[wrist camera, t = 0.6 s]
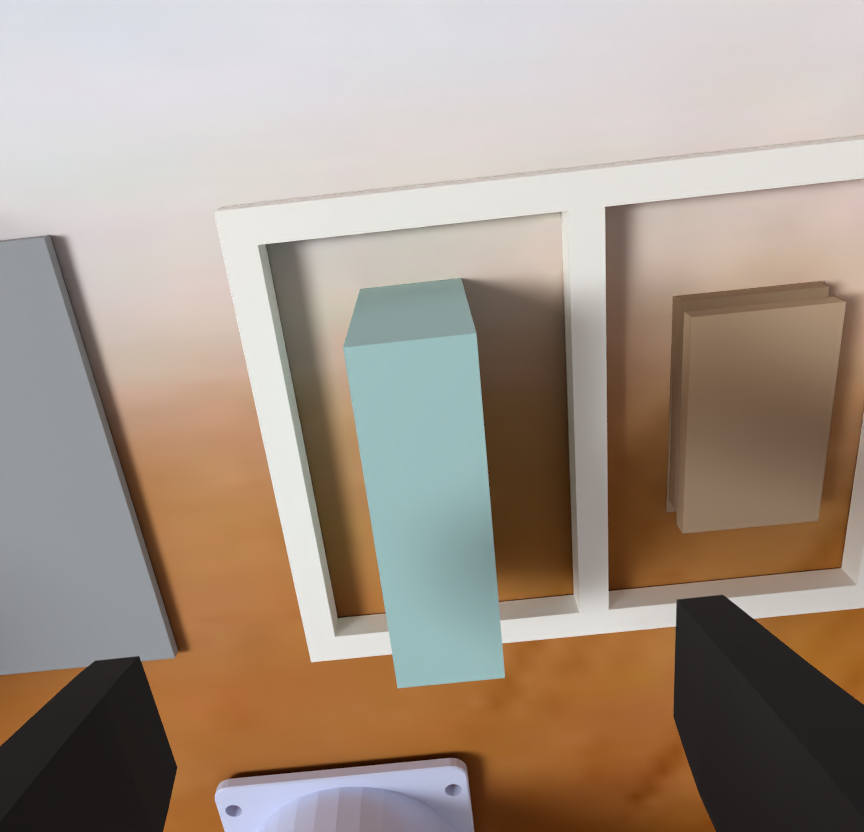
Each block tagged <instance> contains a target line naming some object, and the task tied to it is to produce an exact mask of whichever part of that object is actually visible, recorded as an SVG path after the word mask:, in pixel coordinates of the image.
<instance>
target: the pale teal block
mask: <svg viewBox="0 0 864 832" xmlns="http://www.w3.org/2000/svg"><path fill="white" fill-rule="evenodd" d="M343 349H344V355H345V362H346V368H347V374H348V380H349V387H350V393H351V399H352V405H353V412H354V418H355V424H356V430H357V437H358V443H359V449H360V455H361V462H362V468H363V474H364V480H365V487H366V493H367V499H368V505H369V512H370V518H371V524H372V530H373V537H374V543H375V549H376V555H377V562H378V568H379V574H380V580H381V587H382V593H383V599H384V605H385V611H386V618H387V624H388V630H389V636H390V643H391V649H392V655H393V661H394V668H395V674H396V680H397V686H398V688H405V687H415V686H425V685H436V684H446V683H456V682H466V681H477V680H487V679H497V678H505V672H504V660H503V648H502V636H501V624H500V612H499V600H498V588H497V576H496V564H495V552H494V540H493V527H492V515H491V503H490V491H489V479H488V467H487V455H486V443H485V431H484V419H483V407H482V395H481V382H480V370H479V358H478V346H477V334H476V330H475V326H474V323H473V319H472V315H471V312H470V308H469V304H468V301H467V297H466V294H465V290H464V286H463V283H462V279H461V278H457V279H448V280H439V281H430V282H420V283H411V284H402V285H393V286H384V287H374V288H365V289H360V292H359V295H358V299H357V302H356V305H355V309H354V312H353V316H352V319H351V323H350V326H349V329H348V333H347V336H346V340H345V343H344V347H343Z"/></svg>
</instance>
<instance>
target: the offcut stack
mask: <svg viewBox="0 0 864 832" xmlns="http://www.w3.org/2000/svg"><path fill="white" fill-rule="evenodd" d="M824 283H825V281H817V282H807V283H798V284H788V285H778V286H769V287H759V288H749V289H740V290H730V291H721V292H711V293H701V294H692V295H682V296H673V313H672V344H671V376H670V407H669V439H668V470H667V501H666V513H668V512H677V517H676V524H677V526H678V527H679V529H680V530H681V532H682V534H685V533H696V532H706V531H717V530H727V529H738V528H748V527H759V526H769V525H780V524H790V523H801V522H811V521H818V520H819V512H820V504H821V496H822V488H823V480H824V472H825V465H826V457H827V449H828V441H829V433H830V425H831V417H832V410H833V402H834V394H835V386H836V378H837V370H838V362H839V355H840V347H841V339H842V331H843V323H844V315H845V307H846V301H844V300H841V299H839V298H837V297H835V296H834V297H828V293H829V286H827V285H825V284H824Z"/></svg>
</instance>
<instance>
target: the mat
mask: <svg viewBox="0 0 864 832" xmlns="http://www.w3.org/2000/svg"><path fill="white" fill-rule="evenodd" d="M177 652H178V649H177V646H176V643H175V639H174V636H173V633H172V630H171V626H170V623H169V620H168V617H167V613H166V610H165V607H164V604H163V600H162V597H161V594H160V591H159V587H158V584H157V581H156V578H155V574H154V571H153V568H152V565H151V561H150V558H149V555H148V552H147V548H146V545H145V542H144V539H143V535H142V532H141V529H140V526H139V522H138V519H137V516H136V513H135V510H134V506H133V503H132V500H131V497H130V493H129V490H128V487H127V484H126V480H125V477H124V474H123V471H122V467H121V464H120V461H119V458H118V454H117V451H116V448H115V445H114V441H113V438H112V435H111V432H110V428H109V425H108V422H107V419H106V415H105V412H104V409H103V406H102V402H101V399H100V396H99V393H98V389H97V386H96V383H95V380H94V376H93V373H92V370H91V367H90V363H89V360H88V357H87V354H86V350H85V347H84V344H83V341H82V337H81V334H80V331H79V328H78V324H77V321H76V318H75V315H74V311H73V308H72V305H71V302H70V299H69V295H68V292H67V289H66V286H65V282H64V279H63V276H62V273H61V269H60V266H59V263H58V260H57V256H56V253H55V250H54V247H53V243H52V240H51V237H50V235H47V236H38V237H29V238H20V239H11V240H2V241H0V675H7V674H18V673H28V672H38V671H48V670H58V669H68V668H78V667H88V666H89V665H90V664H92V663H93V662H94V661H97V660H106V659H116V658H125V657H135V656H139V657H140V660H141V661H149V660H159V659H170V658H175V657H176V654H177Z"/></svg>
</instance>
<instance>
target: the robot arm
mask: <svg viewBox="0 0 864 832" xmlns="http://www.w3.org/2000/svg"><path fill="white" fill-rule="evenodd" d="M674 720H675V723H676V726H677V729H678V732H679V735H680V738H681V741H682V744H683V748H684V751H685V754H686V757H687V760H688V763H689V766H690V768H691V771H692V774H693V777H694V780H695V783H696V786H697V789H698V792H699V794H700V797H701V799H702V801H703V803H704V805H705V808H706V810H707V812H708V814H709V817H710V819H711V821H712V823H713V825H714V827H715V830H716V832H864V705H863V704H862V703H860V702H859V701H858V700H856V699H855V698H854V697H852V696H851V695H850V694H848V693H847V692H846V691H844V690H843V689H842V688H840V687H839V686H838V685H836V684H835V683H834V682H833V681H831V680H830V679H829V678H827V677H826V676H825V675H823V674H822V673H821V672H820V671H818V670H817V669H816V668H814V667H813V666H812V665H811V664H809V663H808V662H807V661H805V660H804V659H803V658H802V657H800V656H799V655H798V654H797V653H795V652H794V651H793V650H792V649H790V648H789V647H788V646H787V645H785V644H784V643H783V642H782V641H780V640H779V639H778V638H777V637H775V636H774V635H773V634H772V633H770V632H769V631H768V630H767V629H765V628H764V627H763V626H762V625H760V624H759V623H758V622H757V621H755V620H754V619H753V618H752V617H751V616H749V615H748V614H747V613H746V612H744V611H743V610H742V609H741V608H739V607H738V606H737V605H736V604H734V603H733V602H732V601H731V600H729V599H728V598H727V597H725V596H724V595H715V596H705V597H696V598H686V599H677V603H676V642H675V681H674ZM176 770H177V766H176V763H175V760H174V757H173V754H172V751H171V748H170V745H169V742H168V739H167V736H166V733H165V730H164V727H163V724H162V722H161V719H160V716H159V713H158V710H157V707H156V704H155V701H154V698H153V695H152V692H151V689H150V686H149V683H148V680H147V677H146V674H145V672H144V669H143V666H142V663H141V660H140V657H139V656H135V657H125V658H116V659H106V660H97V661H94V662H93V663H92V664H90V665H89V666H88V667H87V668H86V669H84V670H83V671H82V672H81V673H80V674H79V675H77V676H76V677H75V678H74V679H73V680H72V681H71V682H69V683H68V684H67V685H66V686H65V687H64V688H63V689H62V690H61V691H60V692H58V693H57V694H56V695H55V696H54V697H53V698H52V699H51V700H50V701H49V702H48V703H47V704H45V705H44V706H43V707H42V708H41V709H40V710H39V711H38V712H37V713H36V714H35V715H34V716H33V717H31V718H30V719H29V720H28V721H27V722H26V723H25V724H24V725H23V726H22V727H21V728H20V729H19V730H18V731H16V732H15V733H14V734H13V735H12V736H11V737H10V738H9V739H8V740H7V741H6V742H5V743H3V744H2V745H1V746H0V832H163V829H164V825H165V821H166V817H167V812H168V808H169V803H170V799H171V794H172V789H173V785H174V780H175V775H176ZM451 784H456V785H451ZM215 802H216V805H217V808H218V811H219V814H220V817H221V821H222V824H223V827H224V830H225V832H474V823H473V815H472V806H471V798H470V789H469V780H468V772H467V767H466V764H465V763H464V762H463V761H462V760H459V759H457V758H443V759H432V760H422V761H411V762H401V763H390V764H380V765H369V766H359V767H348V768H338V769H327V770H317V771H306V772H296V773H285V774H275V775H264V776H254V777H243V778H233V779H227V780H224V781H222V782H221V783H219V785H218V787H217V790H216V793H215ZM236 805H237V806H236Z"/></svg>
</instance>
